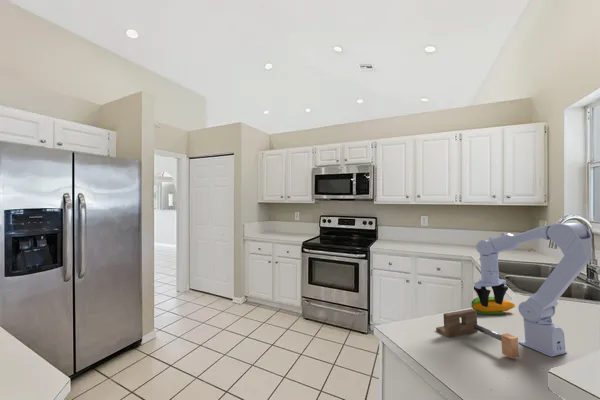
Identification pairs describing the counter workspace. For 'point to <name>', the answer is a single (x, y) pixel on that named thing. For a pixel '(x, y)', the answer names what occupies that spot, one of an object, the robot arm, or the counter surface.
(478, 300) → the corn
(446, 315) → the slotted wooden block
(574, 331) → the counter surface
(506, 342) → the hook pin
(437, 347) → the counter surface
